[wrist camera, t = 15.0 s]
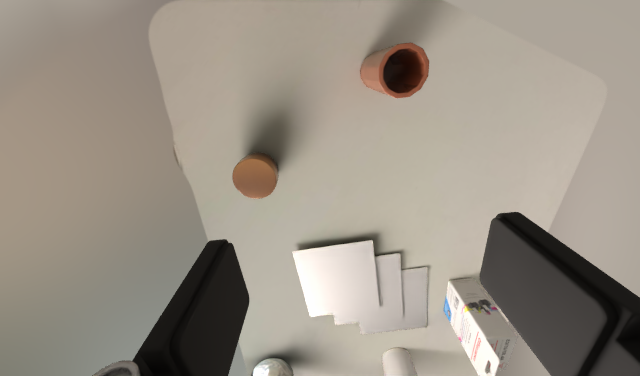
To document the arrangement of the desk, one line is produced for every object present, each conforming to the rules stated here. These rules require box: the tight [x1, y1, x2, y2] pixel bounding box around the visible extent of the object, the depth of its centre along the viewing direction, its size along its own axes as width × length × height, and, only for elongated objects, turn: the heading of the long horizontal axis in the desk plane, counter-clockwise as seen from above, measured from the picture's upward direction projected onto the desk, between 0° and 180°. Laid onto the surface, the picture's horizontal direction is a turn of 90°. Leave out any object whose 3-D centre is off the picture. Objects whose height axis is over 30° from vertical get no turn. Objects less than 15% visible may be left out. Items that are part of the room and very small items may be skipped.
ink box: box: [444, 278, 518, 376], centre depth 43 cm, size 8×5×15 cm, turn 6°
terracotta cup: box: [360, 43, 429, 98], centre depth 27 cm, size 4×4×11 cm
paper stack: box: [292, 240, 427, 335], centre depth 48 cm, size 23×25×1 cm
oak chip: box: [233, 155, 278, 199], centre depth 35 cm, size 6×6×2 cm
